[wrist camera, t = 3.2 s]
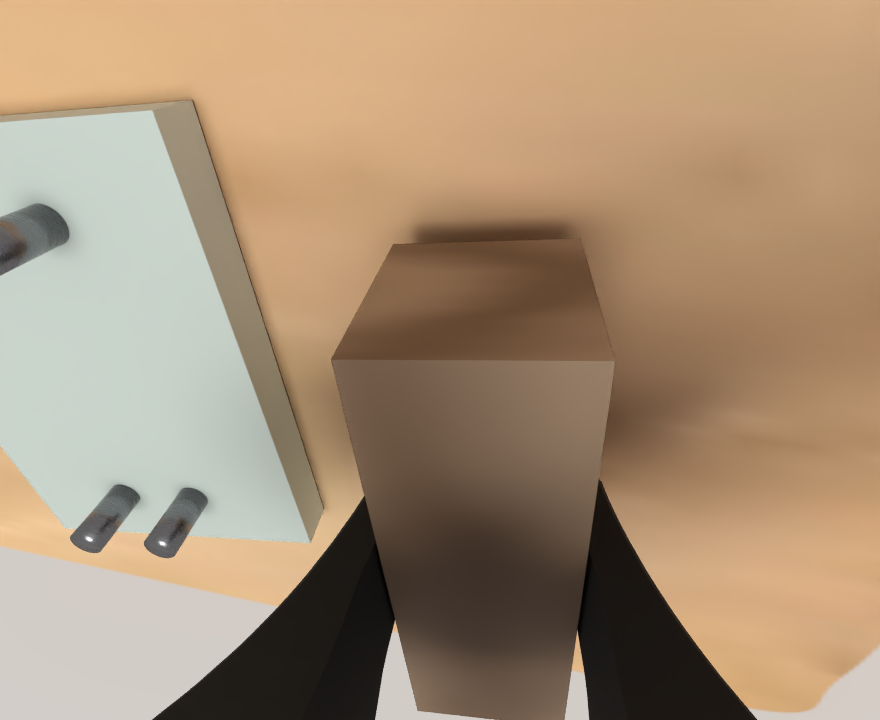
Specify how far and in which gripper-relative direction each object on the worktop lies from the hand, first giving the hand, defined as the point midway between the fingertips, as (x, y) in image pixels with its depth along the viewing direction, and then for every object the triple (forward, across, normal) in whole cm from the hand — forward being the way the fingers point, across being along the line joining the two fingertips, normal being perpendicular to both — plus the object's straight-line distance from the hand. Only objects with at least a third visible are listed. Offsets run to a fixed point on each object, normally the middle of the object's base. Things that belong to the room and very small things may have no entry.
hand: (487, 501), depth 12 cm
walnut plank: (+2, 0, 0) cm, 2 cm away
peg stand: (+3, +12, -2) cm, 12 cm away
